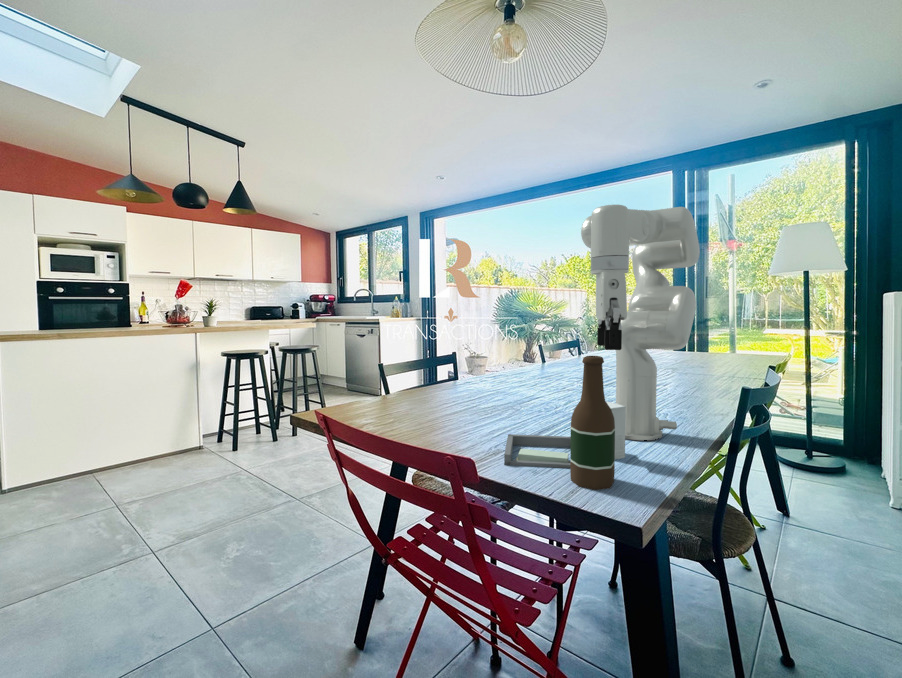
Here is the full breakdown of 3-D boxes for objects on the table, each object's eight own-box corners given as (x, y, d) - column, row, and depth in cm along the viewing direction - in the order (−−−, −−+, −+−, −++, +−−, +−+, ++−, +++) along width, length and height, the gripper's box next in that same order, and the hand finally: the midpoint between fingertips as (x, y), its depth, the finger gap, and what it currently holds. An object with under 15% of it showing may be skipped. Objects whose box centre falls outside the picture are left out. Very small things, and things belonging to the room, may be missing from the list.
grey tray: (575, 449, 101) (575, 436, 101) (582, 472, 87) (582, 458, 87) (508, 446, 104) (508, 434, 103) (504, 468, 90) (504, 454, 89)
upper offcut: (568, 460, 92) (568, 453, 92) (567, 465, 88) (567, 458, 88) (520, 455, 95) (520, 448, 95) (518, 460, 92) (518, 453, 91)
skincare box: (590, 455, 97) (590, 402, 96) (605, 453, 98) (606, 400, 97) (610, 464, 91) (611, 408, 90) (626, 461, 93) (626, 406, 92)
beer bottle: (623, 487, 79) (625, 356, 78) (597, 498, 75) (598, 360, 73) (587, 474, 86) (588, 353, 84) (561, 484, 81) (561, 356, 80)
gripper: (638, 261, 83) (637, 351, 84) (620, 269, 100) (619, 344, 101) (596, 263, 84) (596, 351, 85) (585, 270, 101) (585, 344, 102)
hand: (608, 347), depth 93 cm, fingers open, 9 cm apart
